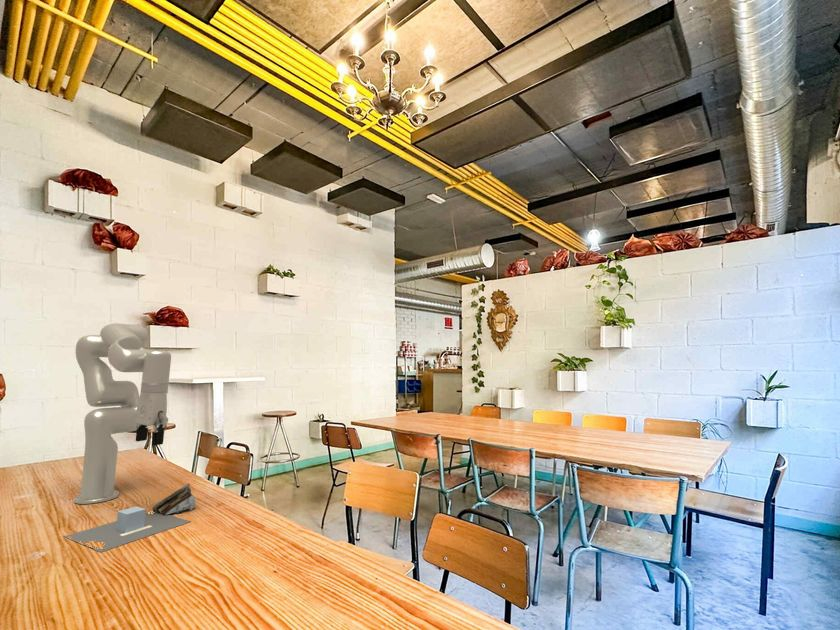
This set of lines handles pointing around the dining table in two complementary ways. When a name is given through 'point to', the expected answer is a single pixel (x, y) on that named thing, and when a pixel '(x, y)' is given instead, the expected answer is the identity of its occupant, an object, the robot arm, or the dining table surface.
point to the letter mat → (117, 538)
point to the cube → (130, 519)
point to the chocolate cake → (176, 502)
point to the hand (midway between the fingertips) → (149, 442)
